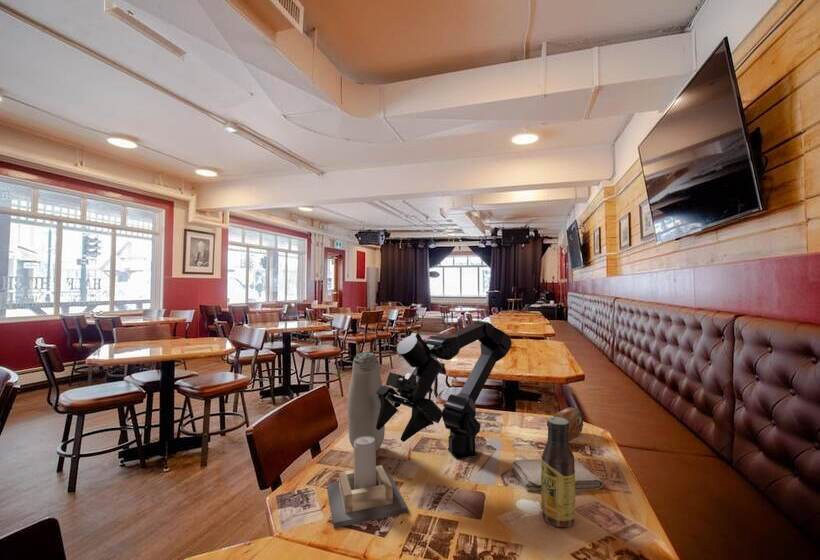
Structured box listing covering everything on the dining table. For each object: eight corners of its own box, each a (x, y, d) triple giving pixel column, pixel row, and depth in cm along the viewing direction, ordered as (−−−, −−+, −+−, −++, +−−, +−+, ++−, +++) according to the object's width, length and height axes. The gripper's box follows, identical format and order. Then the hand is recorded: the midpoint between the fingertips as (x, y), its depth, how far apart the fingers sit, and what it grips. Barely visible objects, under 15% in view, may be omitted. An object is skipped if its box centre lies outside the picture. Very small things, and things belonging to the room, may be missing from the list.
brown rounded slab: (558, 447, 107) (558, 417, 107) (548, 443, 109) (548, 414, 109) (584, 433, 116) (583, 406, 116) (574, 430, 119) (574, 403, 119)
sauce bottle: (536, 511, 77) (534, 414, 77) (565, 509, 77) (563, 412, 78) (550, 532, 70) (548, 426, 71) (582, 529, 71) (580, 424, 71)
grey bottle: (342, 450, 107) (341, 352, 107) (373, 441, 113) (371, 348, 113) (360, 463, 99) (358, 357, 99) (391, 452, 105) (390, 352, 105)
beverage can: (363, 504, 79) (363, 446, 79) (349, 495, 82) (348, 440, 82) (380, 494, 82) (380, 439, 82) (366, 486, 85) (365, 433, 86)
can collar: (389, 477, 91) (389, 458, 91) (407, 512, 77) (407, 490, 77) (326, 488, 87) (326, 468, 87) (333, 528, 72) (333, 504, 73)
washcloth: (509, 469, 95) (508, 457, 95) (576, 465, 97) (576, 453, 97) (528, 496, 83) (527, 482, 83) (604, 491, 85) (604, 477, 85)
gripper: (381, 354, 97) (345, 406, 90) (432, 364, 83) (395, 427, 76) (405, 378, 103) (373, 430, 95) (456, 392, 89) (423, 454, 81)
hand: (389, 434), depth 87 cm, fingers open, 9 cm apart
